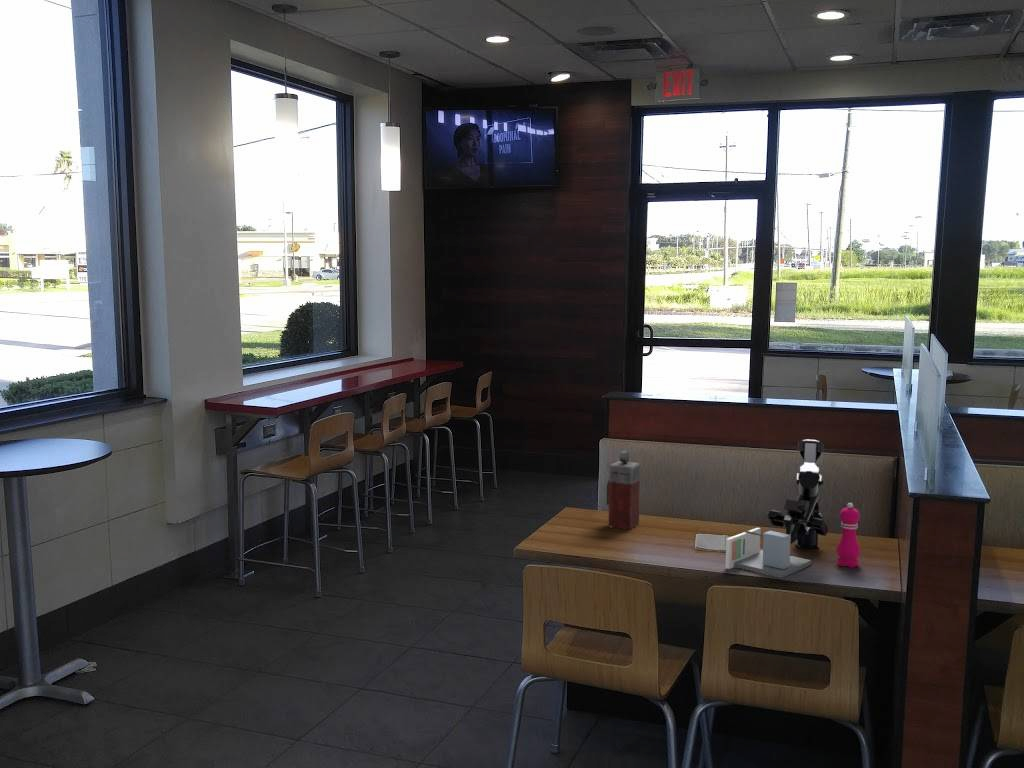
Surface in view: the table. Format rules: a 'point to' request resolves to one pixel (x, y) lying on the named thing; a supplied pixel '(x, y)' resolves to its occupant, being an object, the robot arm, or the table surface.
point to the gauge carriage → (775, 549)
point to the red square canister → (623, 493)
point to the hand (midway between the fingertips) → (787, 544)
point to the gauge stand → (756, 556)
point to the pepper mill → (848, 537)
